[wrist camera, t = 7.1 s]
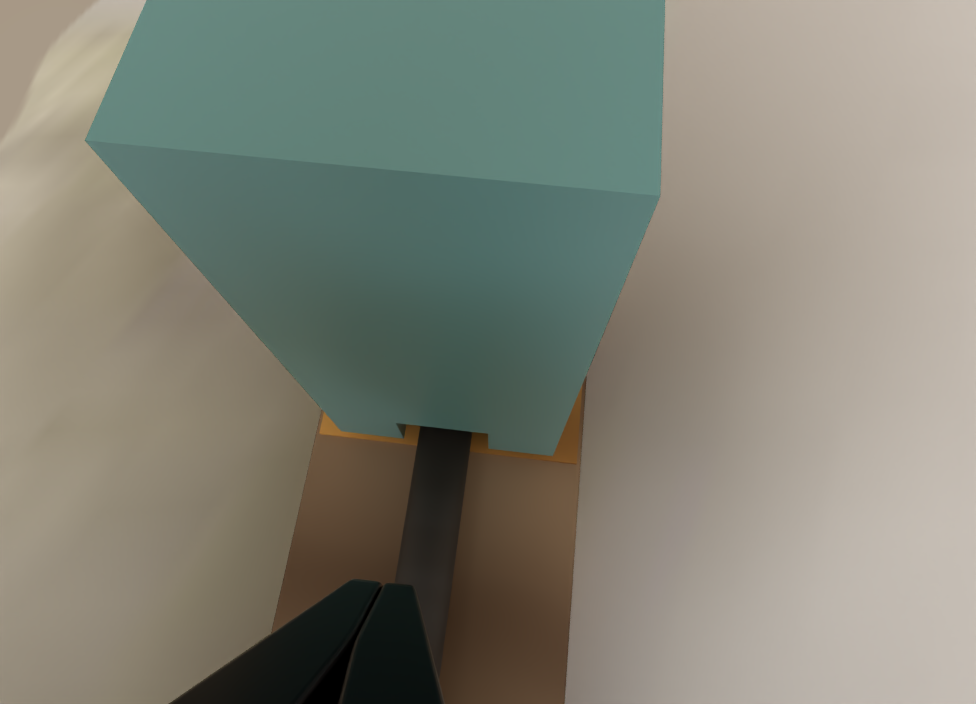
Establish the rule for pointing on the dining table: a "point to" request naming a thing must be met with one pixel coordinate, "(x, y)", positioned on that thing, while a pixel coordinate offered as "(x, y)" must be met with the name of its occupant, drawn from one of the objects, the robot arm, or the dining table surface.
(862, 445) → the dining table surface
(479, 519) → the cord board
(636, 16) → the teal rectangular block
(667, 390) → the dining table surface
